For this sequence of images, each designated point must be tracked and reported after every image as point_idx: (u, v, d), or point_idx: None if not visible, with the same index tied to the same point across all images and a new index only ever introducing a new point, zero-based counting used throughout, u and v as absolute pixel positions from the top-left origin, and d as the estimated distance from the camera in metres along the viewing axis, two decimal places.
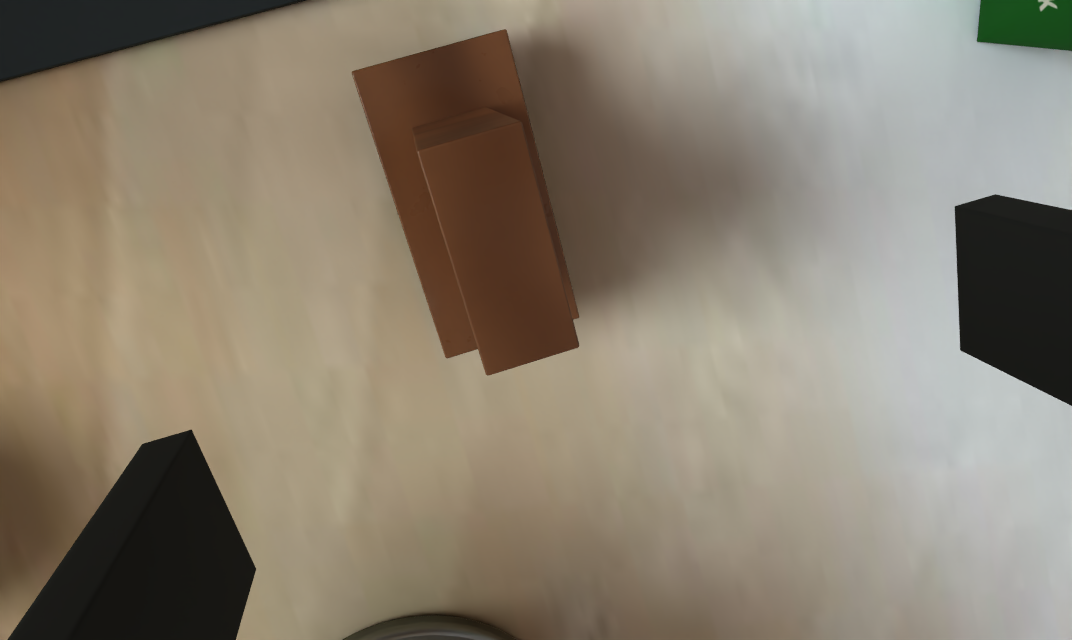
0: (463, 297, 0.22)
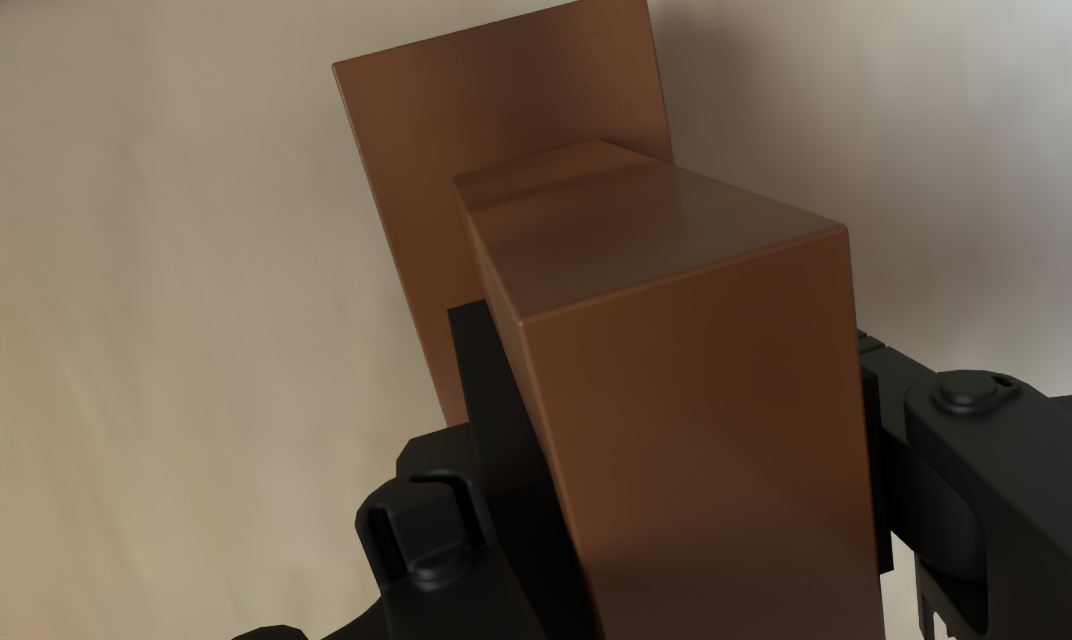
0: None
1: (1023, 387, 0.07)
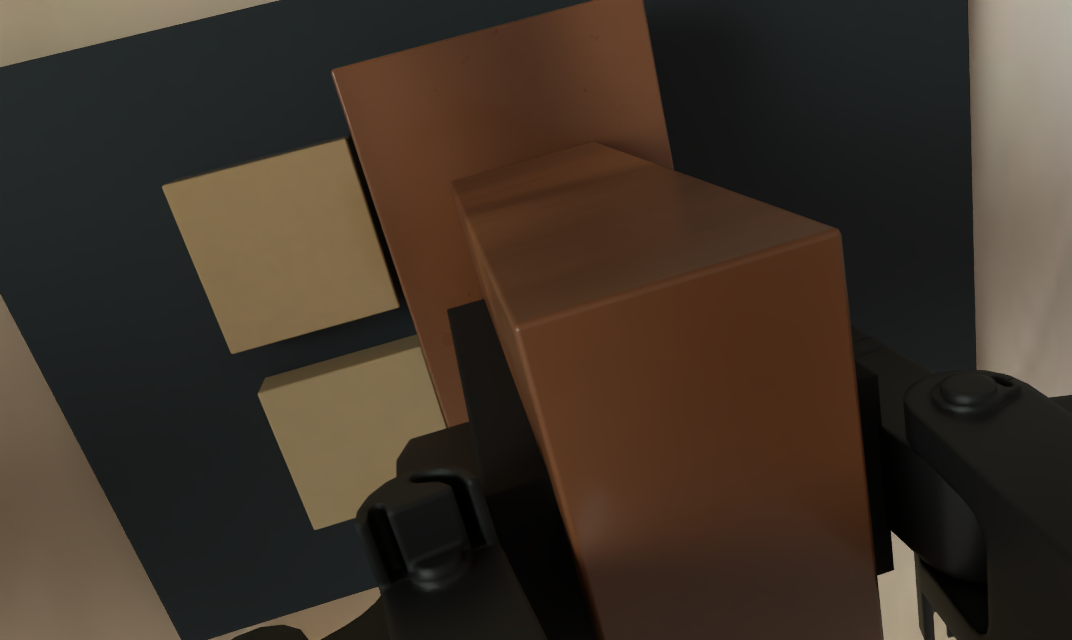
0: None
1: (1023, 388, 0.07)
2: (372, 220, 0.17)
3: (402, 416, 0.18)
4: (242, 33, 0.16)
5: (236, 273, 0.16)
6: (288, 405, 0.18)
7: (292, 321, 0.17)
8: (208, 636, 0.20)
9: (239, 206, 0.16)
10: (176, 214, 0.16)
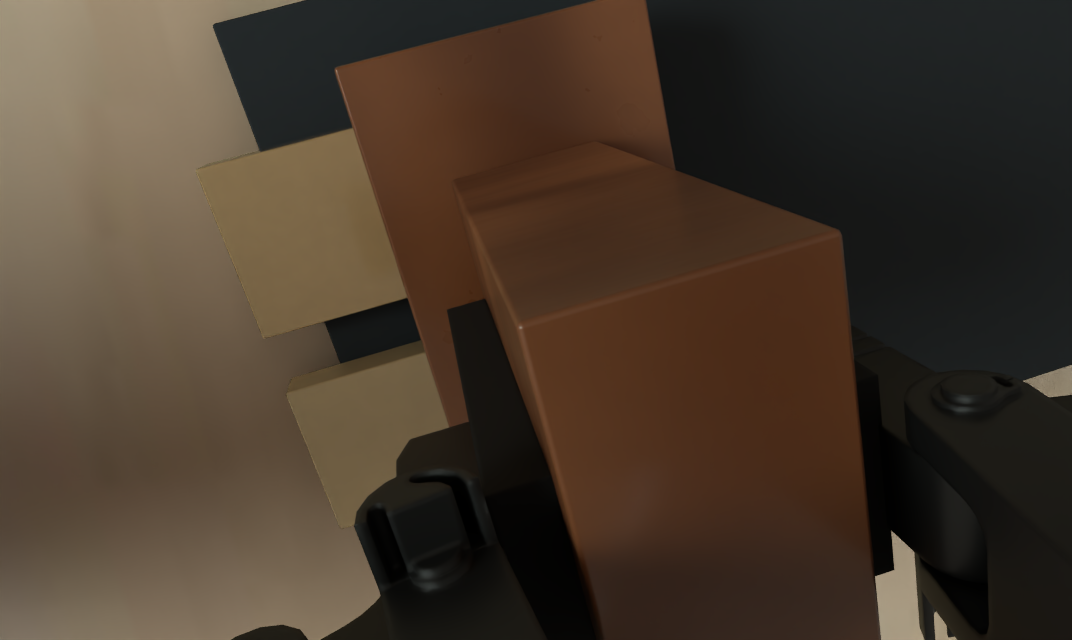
0: None
1: (1023, 388, 0.07)
2: None
3: (429, 415, 0.18)
4: None
5: (268, 257, 0.16)
6: (316, 404, 0.18)
7: (324, 305, 0.17)
8: None
9: (271, 190, 0.16)
10: (210, 198, 0.16)
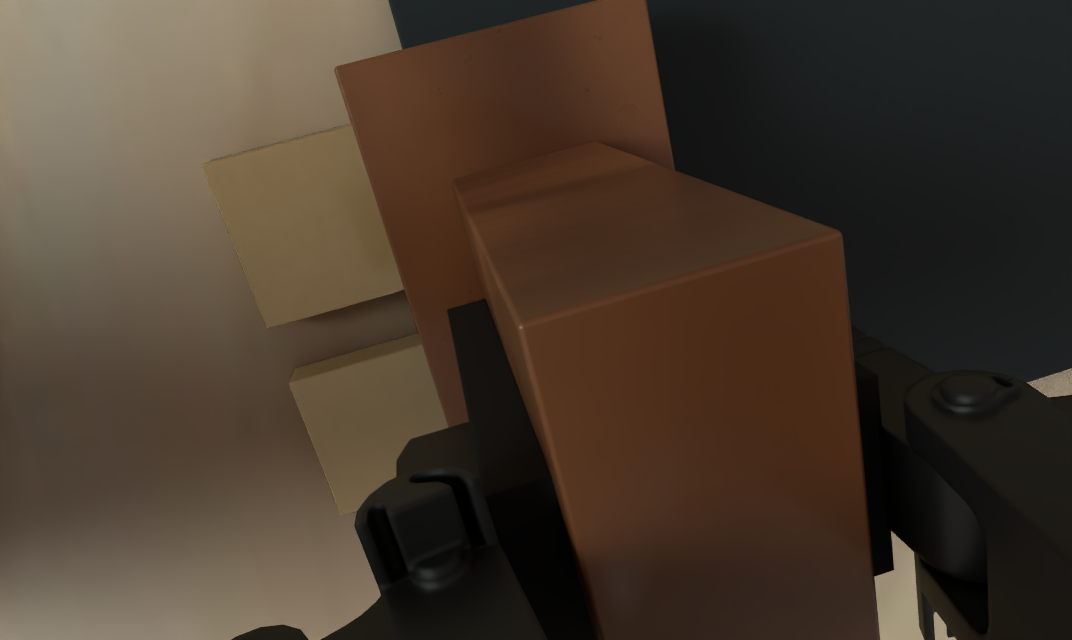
0: None
1: (1023, 388, 0.07)
2: None
3: (427, 404, 0.19)
4: None
5: (271, 250, 0.17)
6: (317, 394, 0.18)
7: (325, 296, 0.18)
8: None
9: (275, 184, 0.17)
10: (215, 192, 0.16)
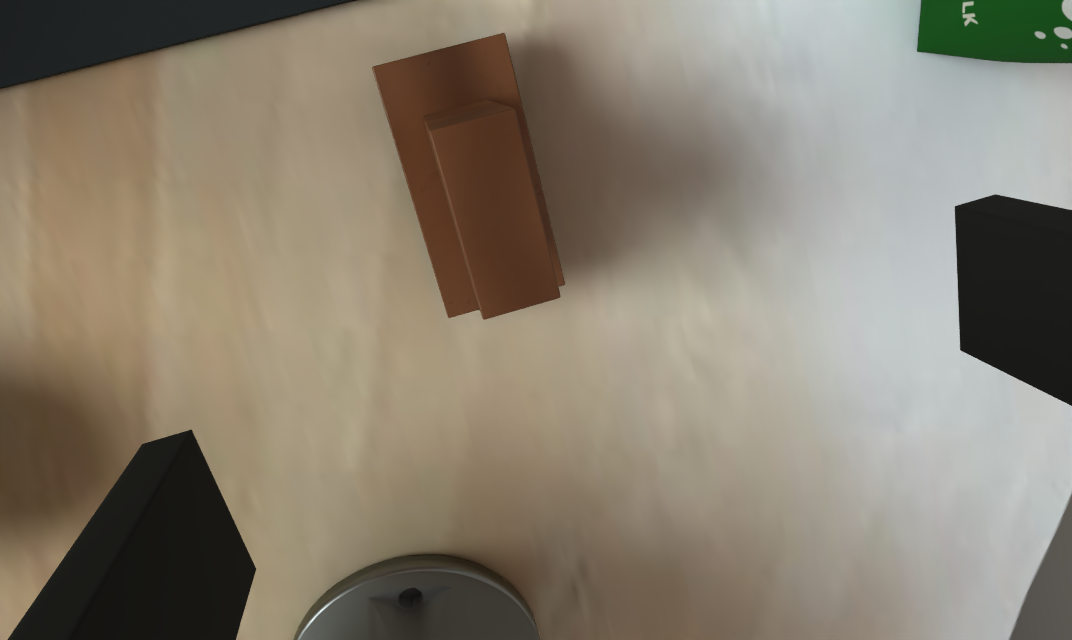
0: (465, 253, 0.26)
1: None
2: None
3: None
4: None
5: None
6: None
7: None
8: None
9: None
10: None
